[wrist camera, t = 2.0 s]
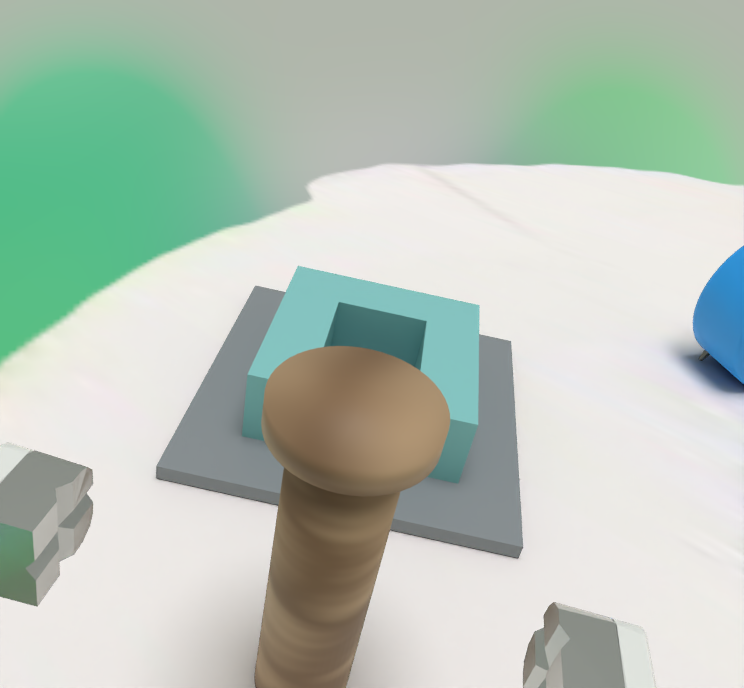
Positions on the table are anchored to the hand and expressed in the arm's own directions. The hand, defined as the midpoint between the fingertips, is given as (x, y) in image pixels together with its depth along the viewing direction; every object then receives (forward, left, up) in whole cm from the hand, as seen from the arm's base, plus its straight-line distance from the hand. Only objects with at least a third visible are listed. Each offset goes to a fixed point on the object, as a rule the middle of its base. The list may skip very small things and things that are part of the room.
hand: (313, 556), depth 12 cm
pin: (0, -11, -23) cm, 25 cm away
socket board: (0, -32, -23) cm, 39 cm away
